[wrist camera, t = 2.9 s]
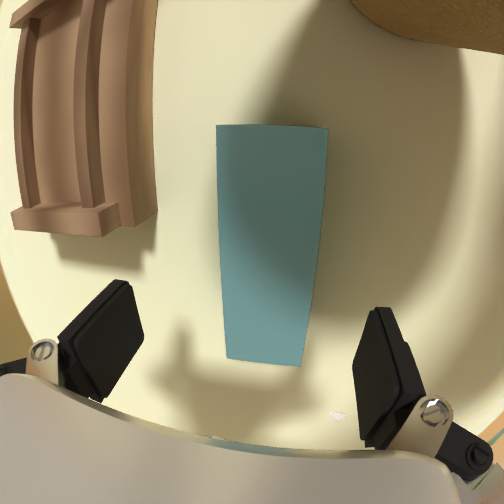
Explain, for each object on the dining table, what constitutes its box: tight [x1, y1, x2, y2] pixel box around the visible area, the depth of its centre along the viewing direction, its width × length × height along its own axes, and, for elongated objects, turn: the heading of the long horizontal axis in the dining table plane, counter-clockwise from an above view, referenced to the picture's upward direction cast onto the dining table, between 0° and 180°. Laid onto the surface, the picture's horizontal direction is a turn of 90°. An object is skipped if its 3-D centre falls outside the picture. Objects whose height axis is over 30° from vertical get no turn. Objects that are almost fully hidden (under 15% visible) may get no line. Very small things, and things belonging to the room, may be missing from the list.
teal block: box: [216, 125, 328, 367], centre depth 15 cm, size 4×13×5 cm, turn 0°
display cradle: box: [9, 0, 158, 237], centre depth 13 cm, size 12×18×5 cm, turn 179°
